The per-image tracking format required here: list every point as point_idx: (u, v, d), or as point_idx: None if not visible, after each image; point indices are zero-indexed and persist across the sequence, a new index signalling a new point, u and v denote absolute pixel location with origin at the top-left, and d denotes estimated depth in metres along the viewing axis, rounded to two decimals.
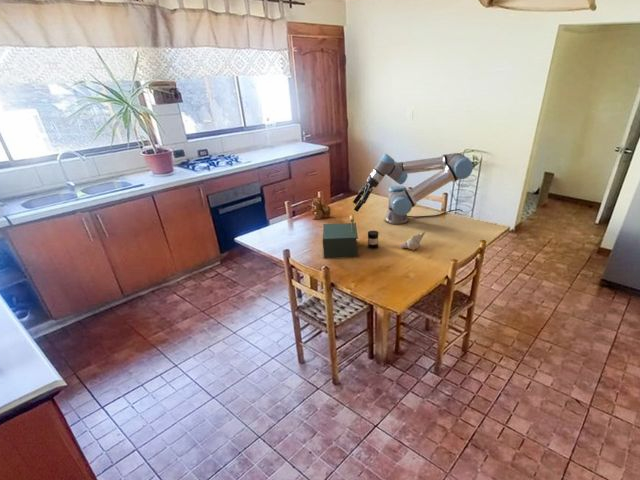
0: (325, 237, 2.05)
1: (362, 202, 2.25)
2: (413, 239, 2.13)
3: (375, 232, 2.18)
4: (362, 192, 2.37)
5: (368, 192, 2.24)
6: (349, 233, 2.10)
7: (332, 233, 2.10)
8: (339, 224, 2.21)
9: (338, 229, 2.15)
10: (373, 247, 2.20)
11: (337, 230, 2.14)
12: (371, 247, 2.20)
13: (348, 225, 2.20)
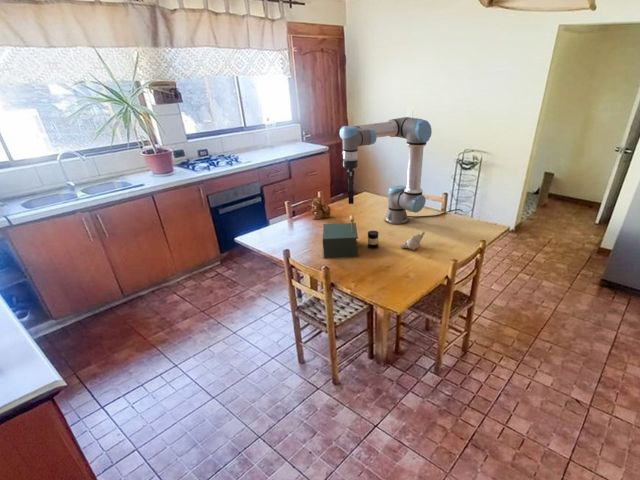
0: (325, 237, 2.05)
1: (350, 191, 1.94)
2: (413, 239, 2.13)
3: (375, 232, 2.18)
4: None
5: (350, 177, 1.93)
6: (349, 233, 2.10)
7: (332, 233, 2.10)
8: (339, 224, 2.21)
9: (338, 229, 2.15)
10: (373, 247, 2.20)
11: (337, 230, 2.14)
12: (371, 247, 2.20)
13: (348, 225, 2.20)
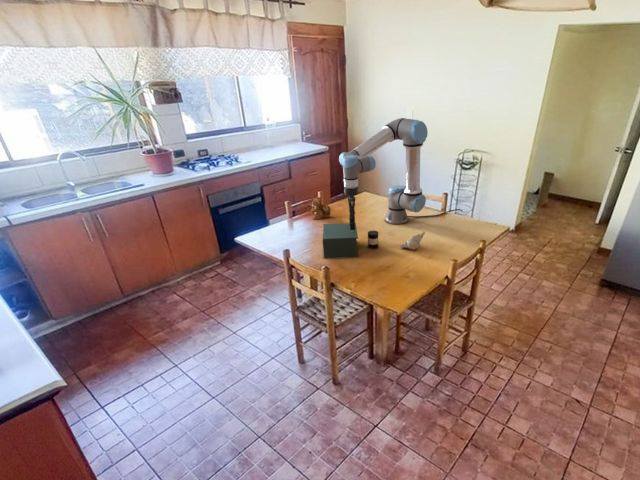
0: (325, 237, 2.05)
1: (352, 219, 2.04)
2: (413, 239, 2.13)
3: (375, 232, 2.18)
4: None
5: (352, 207, 2.00)
6: (349, 233, 2.10)
7: (332, 233, 2.10)
8: (339, 224, 2.21)
9: (338, 229, 2.15)
10: (373, 247, 2.20)
11: (337, 230, 2.14)
12: (371, 247, 2.20)
13: (348, 225, 2.20)
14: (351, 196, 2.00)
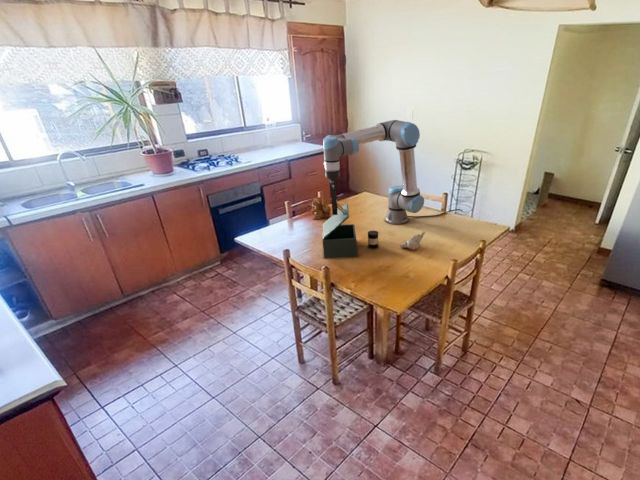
0: (324, 235, 2.05)
1: (334, 203, 1.99)
2: (413, 239, 2.13)
3: (375, 232, 2.18)
4: None
5: (333, 190, 1.95)
6: (341, 217, 2.04)
7: (329, 227, 2.08)
8: (334, 215, 2.17)
9: (333, 219, 2.12)
10: (373, 247, 2.20)
11: (333, 221, 2.11)
12: (371, 247, 2.20)
13: (341, 209, 2.14)
14: (332, 179, 1.94)
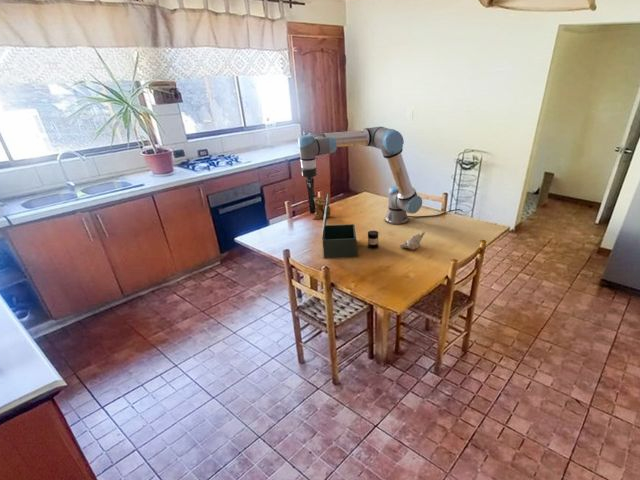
0: (322, 235, 2.04)
1: (311, 202, 1.97)
2: (413, 239, 2.13)
3: (375, 232, 2.18)
4: None
5: (309, 189, 1.93)
6: None
7: (323, 225, 2.07)
8: None
9: (324, 215, 2.10)
10: (373, 247, 2.20)
11: (324, 218, 2.09)
12: (371, 247, 2.20)
13: None
14: (309, 178, 1.92)
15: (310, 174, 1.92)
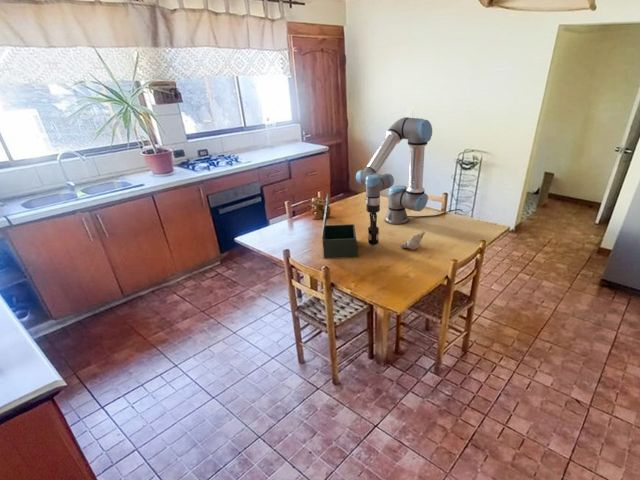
0: (322, 235, 2.04)
1: (374, 235, 2.12)
2: (413, 239, 2.13)
3: None
4: None
5: (374, 223, 2.08)
6: None
7: (323, 225, 2.07)
8: None
9: (324, 215, 2.10)
10: None
11: (324, 218, 2.09)
12: (371, 243, 2.19)
13: None
14: (373, 213, 2.08)
15: (375, 210, 2.07)
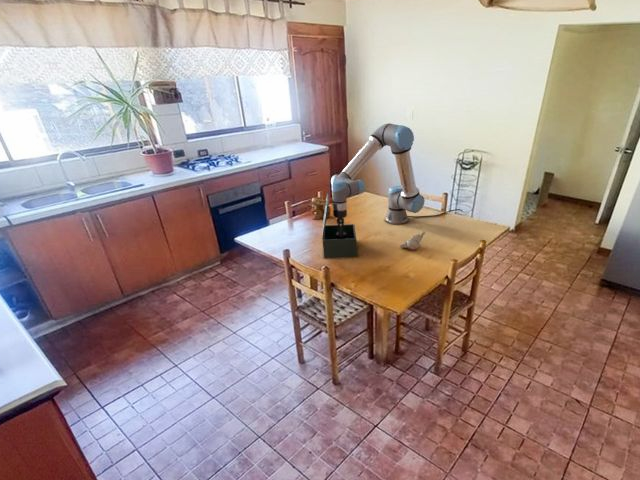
0: (322, 235, 2.04)
1: None
2: (413, 239, 2.13)
3: (343, 233, 2.15)
4: None
5: (340, 228, 2.06)
6: None
7: (323, 225, 2.07)
8: None
9: (324, 215, 2.10)
10: None
11: (324, 218, 2.09)
12: None
13: None
14: (340, 218, 2.06)
15: (341, 215, 2.05)
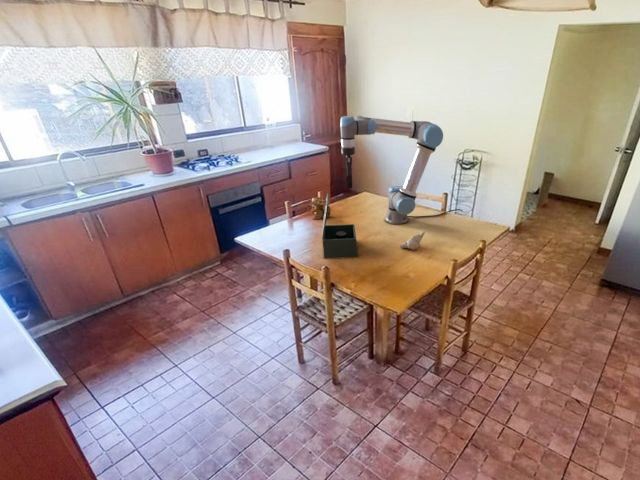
0: (322, 235, 2.04)
1: (349, 176, 2.11)
2: (413, 239, 2.13)
3: (343, 233, 2.15)
4: None
5: (349, 163, 2.10)
6: None
7: (323, 225, 2.07)
8: None
9: (324, 215, 2.10)
10: None
11: (324, 218, 2.09)
12: None
13: None
14: (348, 155, 2.11)
15: (349, 152, 2.10)
